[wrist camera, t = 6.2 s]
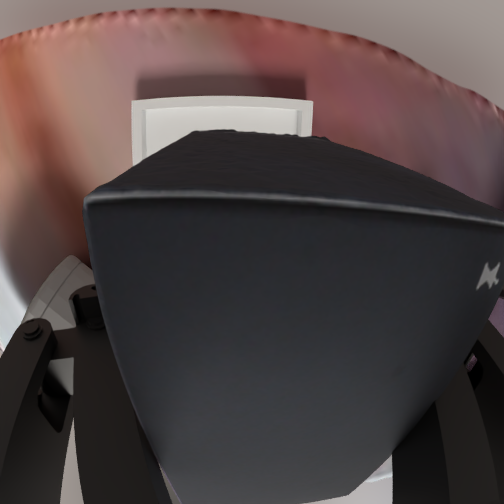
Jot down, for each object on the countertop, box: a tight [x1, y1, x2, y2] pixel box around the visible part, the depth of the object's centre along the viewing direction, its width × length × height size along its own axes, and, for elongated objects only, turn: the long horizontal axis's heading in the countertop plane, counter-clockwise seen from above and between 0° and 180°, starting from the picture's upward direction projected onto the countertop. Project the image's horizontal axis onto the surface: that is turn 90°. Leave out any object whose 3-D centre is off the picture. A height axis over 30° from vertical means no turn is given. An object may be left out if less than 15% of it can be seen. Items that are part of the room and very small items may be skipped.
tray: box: [132, 96, 313, 166], centre depth 29 cm, size 17×18×2 cm
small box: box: [82, 129, 504, 504], centre depth 9 cm, size 11×6×10 cm, turn 176°
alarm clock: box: [21, 255, 95, 331], centre depth 29 cm, size 21×10×13 cm, turn 135°
